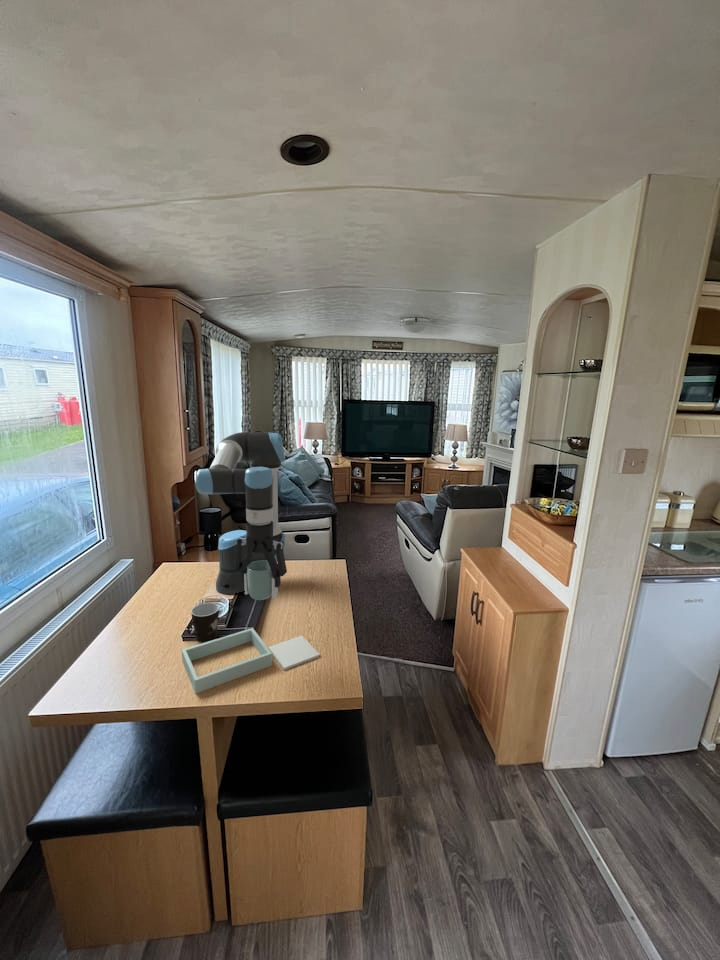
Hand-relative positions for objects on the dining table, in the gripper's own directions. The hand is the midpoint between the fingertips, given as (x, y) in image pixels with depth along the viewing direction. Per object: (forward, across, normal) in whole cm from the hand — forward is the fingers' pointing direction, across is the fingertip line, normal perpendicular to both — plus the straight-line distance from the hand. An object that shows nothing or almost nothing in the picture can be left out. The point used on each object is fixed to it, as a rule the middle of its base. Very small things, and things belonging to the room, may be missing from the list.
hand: (261, 594), depth 121 cm
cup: (+1, 0, 0) cm, 1 cm away
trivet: (+21, +8, +5) cm, 23 cm away
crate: (+21, -9, -5) cm, 24 cm away
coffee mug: (+21, -24, +4) cm, 32 cm away
